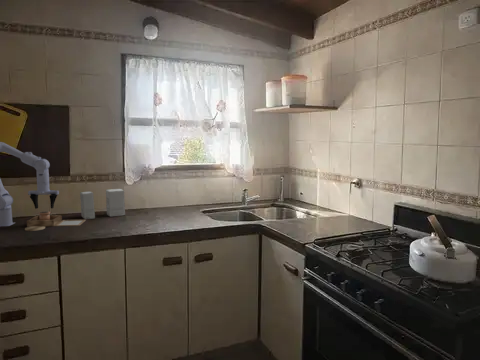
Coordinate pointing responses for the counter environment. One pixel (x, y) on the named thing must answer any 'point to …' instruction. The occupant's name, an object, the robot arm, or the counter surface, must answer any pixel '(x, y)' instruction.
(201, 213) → the counter surface
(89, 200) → the skincare box
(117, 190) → the supplement box
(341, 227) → the counter surface
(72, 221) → the lid
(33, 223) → the cold frame
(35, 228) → the trivet
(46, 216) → the pot
